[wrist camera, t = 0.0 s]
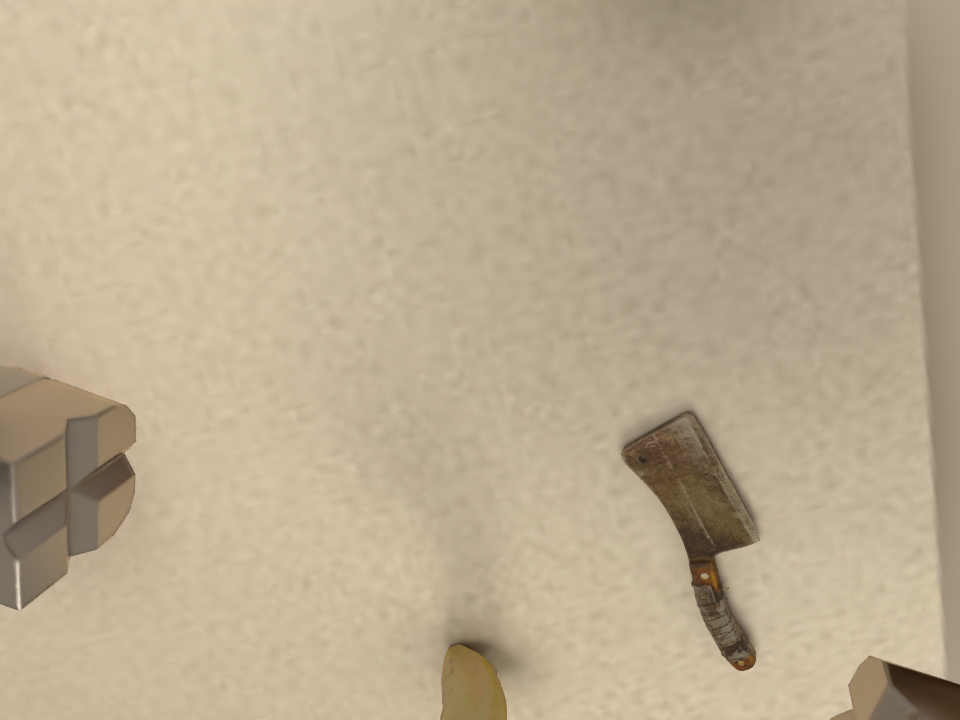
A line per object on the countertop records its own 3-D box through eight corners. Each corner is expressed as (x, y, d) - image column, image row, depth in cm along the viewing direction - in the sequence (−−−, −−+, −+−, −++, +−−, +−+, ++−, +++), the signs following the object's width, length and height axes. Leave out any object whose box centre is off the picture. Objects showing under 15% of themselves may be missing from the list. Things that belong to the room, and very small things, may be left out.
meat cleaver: (743, 404, 31) (617, 414, 33) (743, 416, 30) (612, 426, 32) (774, 657, 34) (657, 654, 36) (775, 676, 33) (654, 671, 35)
